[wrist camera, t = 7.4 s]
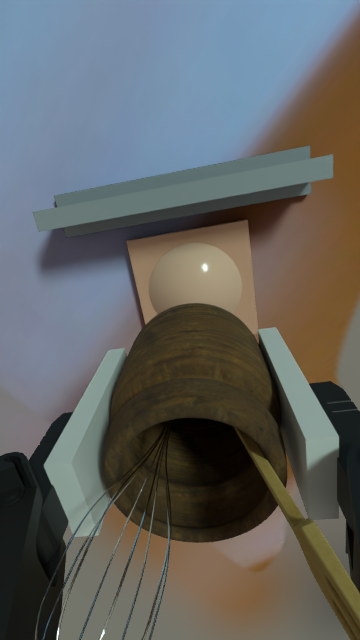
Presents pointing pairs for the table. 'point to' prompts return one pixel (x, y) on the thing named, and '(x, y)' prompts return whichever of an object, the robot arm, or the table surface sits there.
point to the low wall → (186, 192)
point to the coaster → (196, 270)
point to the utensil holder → (203, 449)
